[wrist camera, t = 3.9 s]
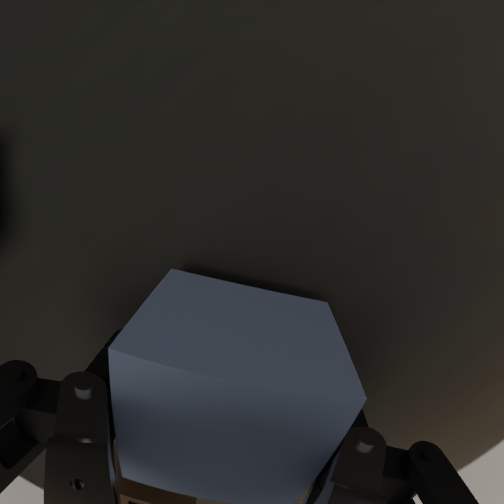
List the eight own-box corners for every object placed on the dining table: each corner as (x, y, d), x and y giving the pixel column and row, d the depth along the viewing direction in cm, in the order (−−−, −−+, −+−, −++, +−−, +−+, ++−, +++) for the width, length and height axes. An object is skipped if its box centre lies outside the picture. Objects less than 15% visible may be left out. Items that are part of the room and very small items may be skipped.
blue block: (327, 302, 11) (367, 398, 6) (285, 411, 12) (291, 508, 7) (171, 268, 10) (108, 348, 6) (159, 386, 12) (122, 476, 7)
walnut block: (206, 439, 15) (193, 513, 10) (197, 476, 16) (187, 538, 11) (128, 418, 14) (99, 486, 10) (131, 458, 16) (110, 516, 11)
